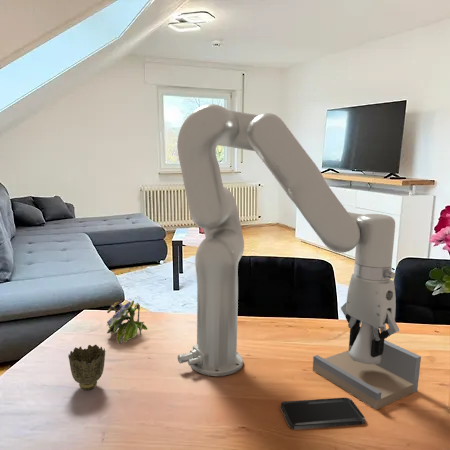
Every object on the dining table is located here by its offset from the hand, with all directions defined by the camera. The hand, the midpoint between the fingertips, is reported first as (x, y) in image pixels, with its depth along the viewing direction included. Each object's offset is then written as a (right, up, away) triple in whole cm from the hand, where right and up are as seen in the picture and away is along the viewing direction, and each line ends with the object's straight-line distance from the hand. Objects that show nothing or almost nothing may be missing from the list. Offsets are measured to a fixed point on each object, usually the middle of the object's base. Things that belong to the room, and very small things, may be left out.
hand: (365, 349), depth 94 cm
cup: (-61, -7, -4) cm, 61 cm away
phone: (-13, -10, -12) cm, 20 cm away
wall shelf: (-1, -7, +1) cm, 7 cm away
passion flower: (-58, -3, +22) cm, 62 cm away
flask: (0, -2, 0) cm, 2 cm away
